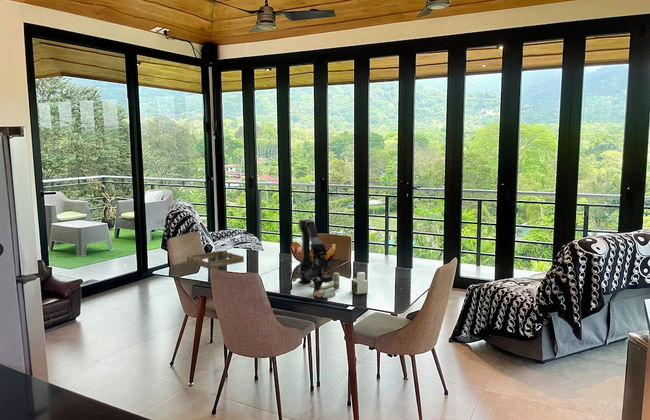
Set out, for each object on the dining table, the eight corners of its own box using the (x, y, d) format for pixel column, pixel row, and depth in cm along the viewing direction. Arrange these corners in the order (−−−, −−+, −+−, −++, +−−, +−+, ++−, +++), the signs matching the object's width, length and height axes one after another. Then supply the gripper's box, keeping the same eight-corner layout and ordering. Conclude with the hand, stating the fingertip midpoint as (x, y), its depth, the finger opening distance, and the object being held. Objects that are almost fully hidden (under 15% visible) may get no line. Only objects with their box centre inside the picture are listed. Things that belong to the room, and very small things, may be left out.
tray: (309, 285, 301) (309, 282, 301) (323, 282, 309) (323, 279, 309) (323, 289, 293) (323, 286, 293) (337, 285, 301) (337, 282, 301)
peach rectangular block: (312, 295, 283) (312, 291, 283) (322, 293, 287) (322, 289, 287) (319, 298, 278) (319, 293, 278) (328, 295, 283) (328, 291, 282)
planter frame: (187, 261, 365) (186, 256, 364) (221, 255, 385) (221, 250, 384) (208, 268, 344) (208, 262, 343) (243, 261, 364) (243, 256, 364)
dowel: (332, 288, 296) (332, 273, 295) (336, 287, 299) (336, 272, 297) (336, 289, 294) (336, 274, 293) (340, 288, 296) (340, 273, 295)
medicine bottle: (351, 291, 290) (351, 271, 289) (362, 289, 293) (362, 269, 291) (356, 294, 284) (357, 273, 282) (367, 292, 286) (368, 272, 285)
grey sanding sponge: (322, 297, 277) (322, 290, 277) (332, 294, 283) (332, 287, 282) (325, 298, 276) (325, 291, 275) (335, 295, 281) (335, 288, 281)
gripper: (296, 264, 285) (296, 290, 287) (318, 269, 272) (318, 297, 274) (310, 261, 293) (310, 286, 295) (332, 266, 279) (332, 293, 281)
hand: (317, 291), depth 286 cm, fingers closed
